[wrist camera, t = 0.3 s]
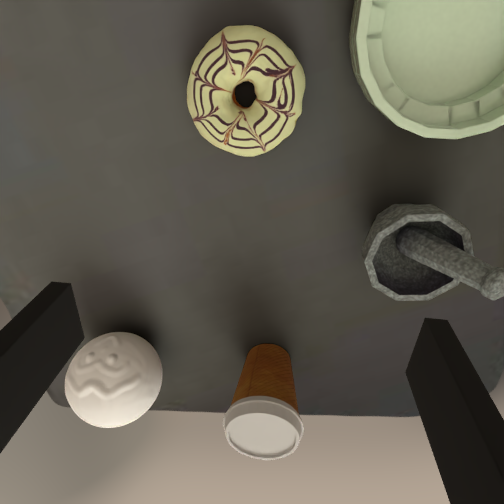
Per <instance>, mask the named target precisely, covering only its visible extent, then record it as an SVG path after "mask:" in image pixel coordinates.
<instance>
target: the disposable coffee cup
mask: <svg viewBox="0 0 504 504" xmlns="http://www.w3.org/2000/svg"><path fill="white" fill-rule="evenodd" d="M223 427H224V430H225V435H226V439H227V441H228V443H229V444H230V445H231V446H232V448H234V449H235V450H236V451H237V452H239V453H241V454H243V455H245V456H248V457H251V458H255V459H261V460H274V459H280V458H283V457H286V456H288V455H290V454H291V453H293V452H294V451H295V450H296V449H297V447H298V445H299V442H300V439H301V438H302V436H303V432H304V426H303V423H302V420H301V418H300V416H299V414H298V407H297V399H296V393H295V386H294V380H293V373H292V366H291V359H290V356H289V354H288V353H287V351H286V350H284V349H283V348H282V347H280V346H277V345H274V344H260V345H257V346H255V347H253V348H252V349H251V350H250V351H249V352H248V355H247V358H246V361H245V364H244V367H243V370H242V373H241V376H240V379H239V382H238V385H237V388H236V391H235V394H234V397H233V400H232V404H231V406H230V408H229V409H228V410H227V412H226V414H225V416H224V419H223Z"/></svg>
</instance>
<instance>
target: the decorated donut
mask: <svg viewBox="0 0 504 504" xmlns="http://www.w3.org/2000/svg"><path fill="white" fill-rule="evenodd" d="M244 81H249V82H252V83H253V84H254V87H255V94H256V95H257V98H256V99H255V101H254V102H253V104H252V106H250V107H248V108H245V107H244V108H243V107H242V106H241V105H239V104H238V102H237V101H236V97H235V87H236V86H237V85H238V84H240V83H242V82H244ZM304 90H305V74H304V71H303V68H302V66H301V64H300V63H299V61H298V60H297V58H296V57H295V55H294V53H293V51H292V50H291V49H290V48H288V47H287V46H286V44H285V43H284V42H283V41H282V40H281V39H279V38H278V37H276V36H275V35H274V34H272V33H270V32H268V31H266V30H264V29H262V28H260V27H256V26H252V25H243V26H228V27H226V28H224V29H223V30H221V31H220V32H219V33H218V34H216V35H215V36H213V37H212V38H211V39H210V40H209V41H208V42H207V43H206V45H205V47H204V48H203V49H202V50H201V51H200V53H199V55H198V56H197V57H196V59H195V61H194V64H193V66H192V69H191V73H190V77H189V80H188V85H187V105H188V109H189V112H190V114H191V116H192V118H193V121H194V124H195V126H196V127H197V129H198V130H199V132H200V134H201V135H202V136H203V137H204V138H205V139H207V140H208V141H209V142H210V143H211V144H213V145H214V146H216V147H218V148H221V149H223V150H226V151H228V152H231V153H233V154H236V155H239V156H256V155H260V154H262V153H266V152H268V151H269V150H271V149H273V148H274V147H276V146H277V145H278V144H279V143H280V142H281V141H282V140H283V139H285V138H286V137H288V136H289V135H290V134H291V133H292V131H293V130H294V127H295V124H296V120H297V118H298V117H299V116H300V115H301V113H302V99H303V94H304Z"/></svg>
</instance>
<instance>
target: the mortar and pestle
mask: <svg viewBox="0 0 504 504" xmlns="http://www.w3.org/2000/svg"><path fill="white" fill-rule="evenodd" d="M362 256H363V259H364V262H365V265H366V268H367V272H368V275H369V278H370V281H371V284H372V286H373V287H374V288H376V289H378V290H379V291H381V292H383V293H384V294H386V295H388V296H389V297H391V298H393V299H394V300H396V301H412V300H430V299H432V298H434V297H436V296H437V295H439V294H441V293H443V292H445V291H447V290H449V289H451V288H453V287H455V286H457V285H458V284H459V282H460V281H461V282H463V283H465V284H467V285H469V286H471V287H474V288H476V289H478V290H480V292H481V294H482V295H483V296H485V297H487V298H489V299H491V300H496V299H498V298H501V297H503V296H504V268H502V267H501V268H494V267H492V266H491V265H489V264H487V263H485V262H483V261H481V260H479V259H478V258H476V257H474V254H473V248H472V242H471V236H470V231H469V230H468V229H467V228H466V227H465V226H464V225H463V224H462V223H460V222H459V221H457V220H456V219H454V218H453V217H451V216H450V215H448V214H447V213H445V212H444V211H442V210H441V209H439V208H438V207H436V206H434V205H432V204H423V205H414V204H412V203H410V204H393V205H391V206H390V207H388V208H387V209H385V210H384V211H382V212H381V213H379V214H378V215H377V216H376V219H375V221H374V222H373V224H372V226H371V228H370V231H369V233H368V235H367V237H366V240H365V242H364V244H363V247H362Z"/></svg>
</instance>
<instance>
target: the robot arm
mask: <svg viewBox="0 0 504 504" xmlns="http://www.w3.org/2000/svg"><path fill="white" fill-rule="evenodd" d="M84 338H85V337H84V333H83V329H82V326H81V322H80V318H79V314H78V310H77V306H76V302H75V298H74V294H73V290H72V286H71V283H61V282H51V283H50V284H49V285H48V286H46V287H45V288H44V289H43V290H42V291H41V292H40V293H39V294H38V295H37V296H36V297H35V298H34V299H33V300H32V301H31V302H30V303H29V304H28V305H27V306H26V307H24V308H23V309H22V310H21V311H20V312H19V313H18V314H17V315H16V316H15V317H14V318H13V319H12V320H11V321H10V322H9V323H8V324H7V325H6V326H5V327H4V328H3V329H2V330H0V453H1V452H2V450H3V449H4V448H5V446H6V445H7V443H8V442H9V441H10V439H11V437H12V436H13V435H14V434H15V432H16V431H17V430H18V428H19V427H20V426H21V424H22V423H23V422H24V420H25V419H26V417H27V416H28V415H29V413H30V412H31V411H32V409H33V408H34V406H35V405H36V404H37V402H38V401H39V400H40V398H41V397H42V395H43V394H44V393H45V391H46V390H47V389H48V387H49V386H50V384H51V383H52V382H53V380H54V379H55V378H56V376H57V375H58V374H59V372H60V371H61V369H62V368H63V367H64V365H65V364H66V363H67V361H68V360H69V358H70V357H71V356H72V354H73V353H74V352H75V350H76V349H77V347H78V346H79V345H80V343H81V342H82V341H83V339H84ZM405 373H406V376H407V378H408V381H409V384H410V387H411V390H412V393H413V396H414V399H415V402H416V405H417V408H418V411H419V413H420V416H421V419H422V422H423V425H424V428H425V431H426V434H427V437H428V440H429V443H430V446H431V448H432V451H433V454H434V457H435V460H436V463H437V466H438V469H439V472H440V475H441V478H442V481H443V484H444V486H445V489H446V492H447V495H448V498H449V501H450V504H504V420H503V418H502V416H501V414H500V413H499V411H498V409H497V407H496V406H495V404H494V402H493V400H492V399H491V397H490V395H489V393H488V391H487V390H486V388H485V386H484V384H483V383H482V381H481V379H480V377H479V375H478V374H477V372H476V370H475V368H474V367H473V365H472V363H471V361H470V359H469V358H468V356H467V354H466V352H465V351H464V349H463V347H462V345H461V343H460V342H459V340H458V338H457V336H456V335H455V333H454V331H453V329H452V327H451V326H450V324H449V322H448V320H442V319H431V318H425V319H424V322H423V325H422V328H421V331H420V333H419V336H418V339H417V342H416V344H415V347H414V350H413V353H412V355H411V358H410V361H409V364H408V367H407V369H406V372H405Z"/></svg>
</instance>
